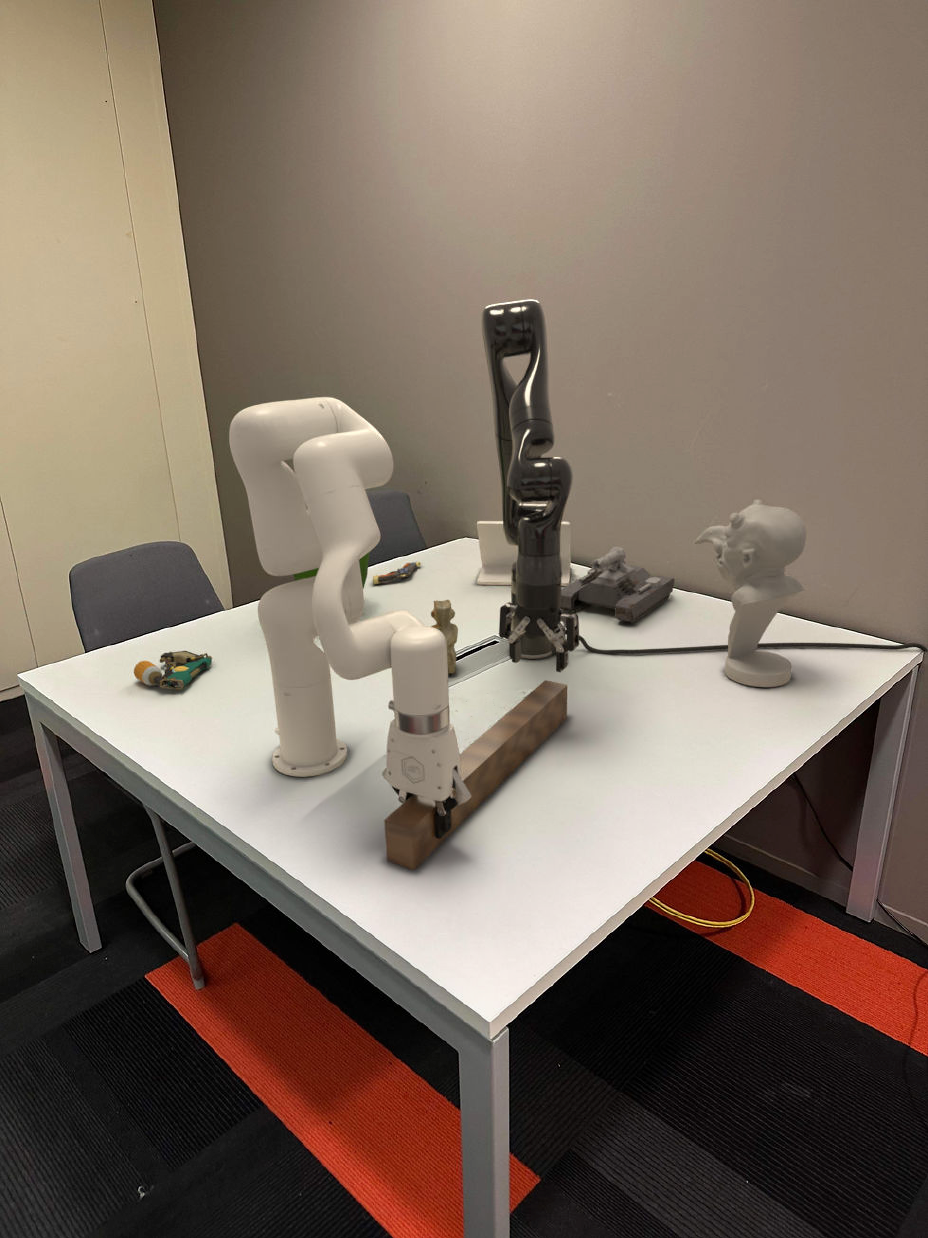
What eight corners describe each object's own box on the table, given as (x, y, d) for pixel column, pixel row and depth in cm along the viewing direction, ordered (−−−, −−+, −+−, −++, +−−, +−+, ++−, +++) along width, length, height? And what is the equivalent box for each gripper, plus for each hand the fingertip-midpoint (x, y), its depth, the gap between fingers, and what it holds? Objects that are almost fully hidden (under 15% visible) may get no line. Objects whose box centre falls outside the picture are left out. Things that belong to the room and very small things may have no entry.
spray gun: (177, 659, 191) (231, 671, 185) (120, 684, 176) (176, 698, 171) (176, 641, 190) (230, 653, 184) (118, 665, 175) (174, 678, 169)
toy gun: (370, 576, 233) (405, 573, 231) (388, 561, 251) (421, 558, 249) (371, 586, 234) (406, 583, 232) (389, 570, 252) (422, 567, 250)
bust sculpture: (725, 639, 191) (739, 484, 178) (813, 678, 171) (835, 506, 158) (670, 654, 184) (680, 494, 171) (754, 696, 164) (772, 518, 151)
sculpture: (458, 662, 183) (456, 596, 178) (460, 676, 176) (457, 608, 171) (431, 663, 183) (428, 597, 177) (431, 677, 176) (428, 609, 171)
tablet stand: (569, 585, 229) (570, 524, 223) (476, 584, 232) (475, 523, 226) (570, 566, 246) (571, 508, 240) (484, 564, 249) (483, 507, 243)
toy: (603, 584, 229) (605, 530, 224) (673, 597, 218) (677, 540, 213) (555, 612, 210) (556, 553, 205) (630, 627, 199) (633, 566, 194)
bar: (545, 712, 160) (545, 680, 158) (567, 717, 158) (567, 684, 156) (387, 860, 119) (384, 819, 117) (413, 870, 117) (411, 828, 115)
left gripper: (356, 713, 118) (365, 825, 124) (461, 741, 110) (464, 860, 116) (387, 692, 124) (394, 800, 130) (489, 717, 116) (491, 831, 122)
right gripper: (491, 577, 144) (492, 666, 149) (568, 589, 137) (566, 681, 142) (511, 566, 150) (512, 651, 155) (587, 576, 143) (584, 666, 148)
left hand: (427, 827), depth 123 cm, fingers closed on bar, 4 cm apart
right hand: (538, 665), depth 149 cm, fingers open, 8 cm apart
